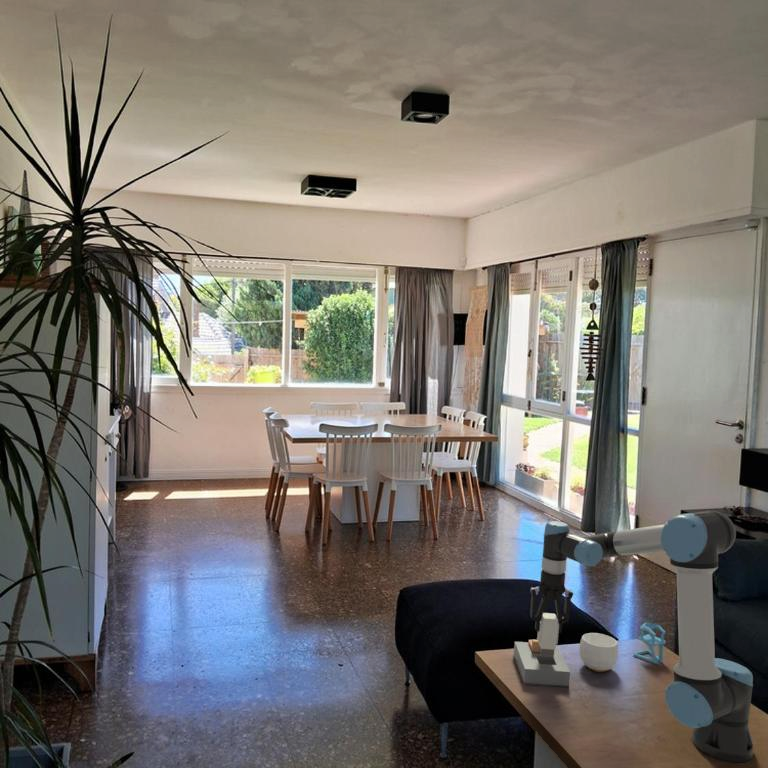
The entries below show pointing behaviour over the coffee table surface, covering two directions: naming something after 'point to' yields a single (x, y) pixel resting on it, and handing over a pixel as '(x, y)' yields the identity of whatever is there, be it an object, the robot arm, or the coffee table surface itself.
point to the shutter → (534, 645)
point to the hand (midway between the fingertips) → (547, 641)
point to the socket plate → (541, 666)
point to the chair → (651, 643)
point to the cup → (598, 651)
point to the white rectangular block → (548, 634)
